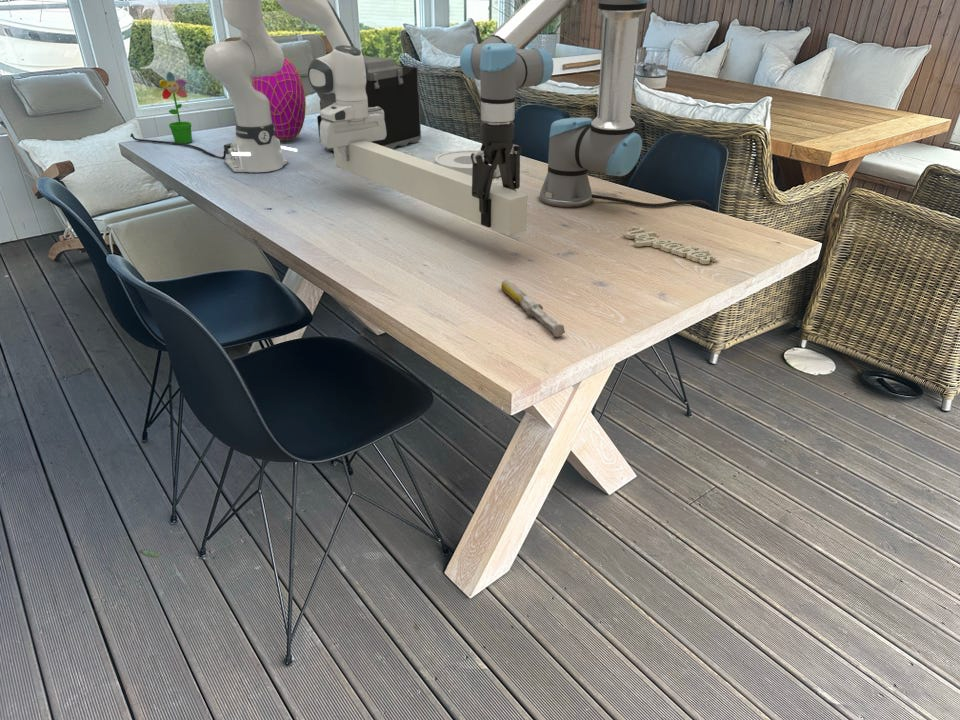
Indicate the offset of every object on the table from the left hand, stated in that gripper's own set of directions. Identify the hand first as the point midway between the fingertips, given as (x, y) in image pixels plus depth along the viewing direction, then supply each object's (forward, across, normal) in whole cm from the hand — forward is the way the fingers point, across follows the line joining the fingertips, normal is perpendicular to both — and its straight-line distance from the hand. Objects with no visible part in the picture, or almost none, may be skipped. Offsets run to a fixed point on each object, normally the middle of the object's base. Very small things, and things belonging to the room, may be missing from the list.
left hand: (355, 159), depth 200 cm
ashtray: (+11, -43, 0) cm, 44 cm away
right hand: (+2, -1, +61) cm, 61 cm away
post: (+3, 0, +30) cm, 30 cm away
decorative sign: (+10, -36, +85) cm, 93 cm away
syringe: (+10, +15, +89) cm, 91 cm away
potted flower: (+12, +16, -98) cm, 100 cm away
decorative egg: (+12, -15, -78) cm, 80 cm away
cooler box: (+11, -36, -49) cm, 62 cm away
